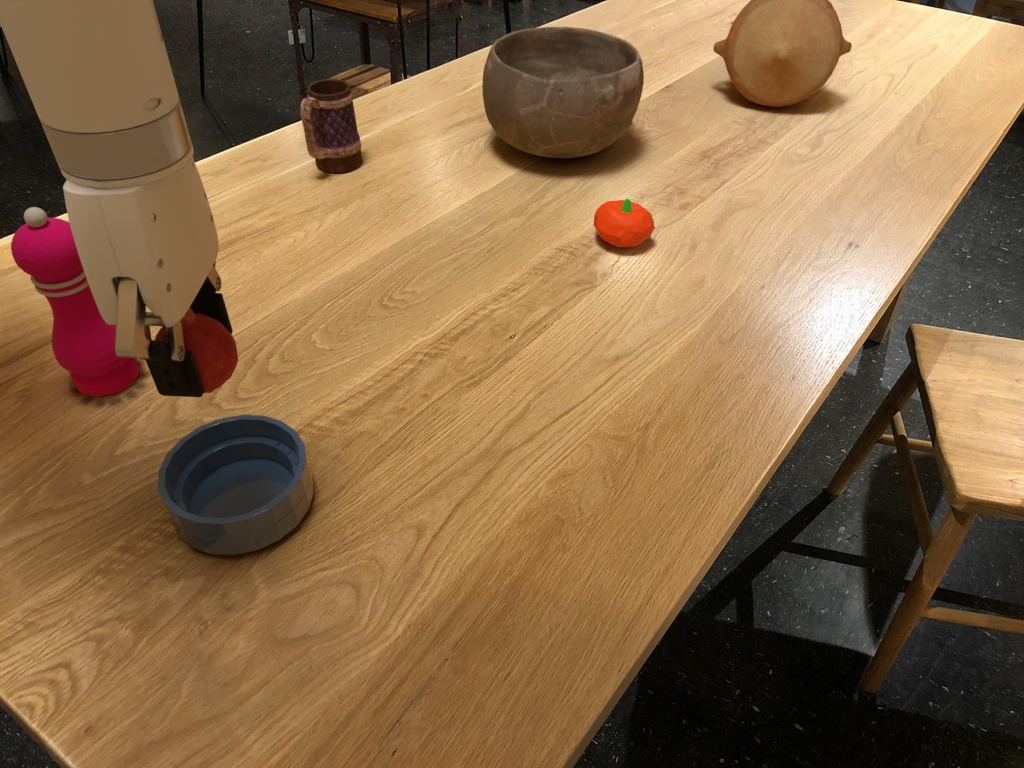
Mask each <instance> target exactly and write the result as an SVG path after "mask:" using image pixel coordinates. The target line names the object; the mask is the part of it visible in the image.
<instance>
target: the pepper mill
mask: <svg viewBox="0 0 1024 768" xmlns="http://www.w3.org/2000/svg"><path fill="white" fill-rule="evenodd" d="M23 219H24V222H25V223H24V224H22V225H21V226H20V227H19V228H18V229H16V231H15V232H14V234H13V235H12V239H11V242H10V249H11V250H10V251H11V256H12V258H13V261H14V263H15V264H16V266H17V267H18V268H19V269H20V270H22V271H23V273H25V274H27V275H29V276H30V281H31V283H32V284H33V286H34V289H35V291H36V292H37V293H38V294H39V295H41V296H44V297H45V298H46V300H47V302H48V304H49V306H50V308H51V309H50V310H51V311H52V318H53V320H52V321H53V323H52V330H51V348H52V352H53V356H54V358H55V360H56V362H57V363H58V365H59V366H60V367H61V368H63V369H64V370H66V371H67V372H69V376H70V379H71V380H72V382H73V384H74V386H75V388H76V389H77V390H78V391H79V392H80V393H81V394H83V395H86V396H89V397H90V396H91V397H106V396H111V395H114V394H116V393H119V392H122V391H123V390H125V389H127V388H129V386H131V385H132V384H133V383H134V382H135V381H136V380H137V378H138V376H139V374H140V365H139V363H138V361H137V358H128V357H118V356H117V355H116V352H115V339H116V325H108V324H107V323H106V322H105V321H104V319H103V318H102V316H101V314H100V312H99V309H98V307H97V305H96V302H95V300H94V297H93V294H92V292H91V289H90V286H89V284H88V281H87V278H86V275H85V272H84V269H83V266H82V263H81V260H80V257H79V254H78V251H77V248H76V245H75V241H74V238H73V234H72V230H71V227H70V222H69V221H66V220H65V219H61V218H58V217H48V214H47V213H46V211H45V210H43V209H42V208H40V207H37V206H31V207H28V208H26V210H25V211H24V213H23Z"/></svg>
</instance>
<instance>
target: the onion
mask: <svg viewBox="0 0 1024 768" xmlns="http://www.w3.org/2000/svg"><path fill="white" fill-rule="evenodd" d="M181 323H182V330H183V338H184V346H185V350H189V351H192V353H193V356H194V359H195V362H196V365H197V367H198V370H199V373H200V376H201V379H202V382H203V385H204V388H205V391H204V393H203V395H204V394H209V393H212V392H214V391H216V390H217V389H219V388H220V387H222V386H223V385H224V384H225V383H227V381H228V380H229V379H231V378H232V376H233V374H234V372H235V370H236V369H237V365H238V362H239V355H238V348H237V342H236V340H235V338H234V336H233V333H232V334H231V333H230V332H229V331H228V330H227V329H226V328H225V327H224V326H223V325H222V324H221V323H220V322H219V321H217V320H216V319H213V318H211V317H208V316H206V315H203V314H199V313H194V312H193V310H192V309H191V308H190V307H189V309H188V311H187V312H186V314H185V315H184V317H183V318H182V319H181ZM154 340H155V341H163V342H168V337H167V330H166V326H161V328H160V329H159V330H158V332H157V333H156V335H155V337H154Z"/></svg>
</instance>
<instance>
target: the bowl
mask: <svg viewBox="0 0 1024 768" xmlns="http://www.w3.org/2000/svg"><path fill="white" fill-rule="evenodd" d="M644 75H645V74H644V66H643V60H642V57H641V55H640V53H639V51H638V49H637V48H636V47H635V45H633V44H632V43H630V42H629V41H628V40H626V39H624V38H622V37H619V36H616V35H613V34H611V33H607V32H602V31H599V30H595V29H590V28H584V27H582V28H581V27H573V26H542V27H540V26H539V27H531V28H525V29H520V30H519V29H518V30H515V31H511V32H509V33H506V34H504V35H502V36H501V37H499V38H497V39H496V40H494V42H493V43H492V46H491V47H490V49H489V52H488V54H487V58H486V60H485V62H484V67H483V72H482V83H481V85H482V87H481V88H482V101H483V108H484V111H485V115H486V118H487V120H488V123H489V125H490V126H491V128H492V130H493V131H494V132H495V133H496V135H497V136H498V137H499V138H501V139H502V140H503V141H504V142H505V143H506V144H508V145H510V146H512V147H514V148H516V149H518V150H519V151H522V152H523V153H527V154H529V155H533V156H539V157H545V158H551V159H553V158H555V159H574V158H580V157H586V156H591V155H593V154H596V153H599V152H600V151H603V150H605V149H607V148H608V147H610V146H611V145H612V144H614V143H615V142H616V141H617V140H618V139H619V138H620V137H621V136H622V135H623V134H624V133H625V132H626V131H627V130H628V128H630V127H631V126H632V125H633V121H634V120H633V119H635V116H636V113H637V111H638V109H639V104H640V102H641V100H642V99H641V98H642V95H643V89H644V88H643V87H644V84H645V83H644V82H645V81H644V80H645V77H644Z"/></svg>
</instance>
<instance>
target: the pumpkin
mask: <svg viewBox="0 0 1024 768" xmlns="http://www.w3.org/2000/svg"><path fill="white" fill-rule="evenodd" d="M593 227H594V229H595V230H596V232H597V234H598V236H599V238H601V239H602V240H603V241H605V242H606V243H608V244H611V245H612V246H615V247H616V248H626V249H627V248H632V247H635V246H638V245H641V244H642V243H643V242H644V241H645V240H647V239H648V238H650V237H651V236H652V235H653V233H654V231H655V229H656V227H655V221H654V218H653V215H652V213H651V212H650V211H649V210H647V208H645V207H644V206H642V205H641V204H639V203H636V202H634V201H632V200H630V199H629V198H625V199H618V200H609V201H608V200H607V201H605V202H603V203H602V204H600V205H599V207H597V209H596V211H595V213H594V216H593Z"/></svg>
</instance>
